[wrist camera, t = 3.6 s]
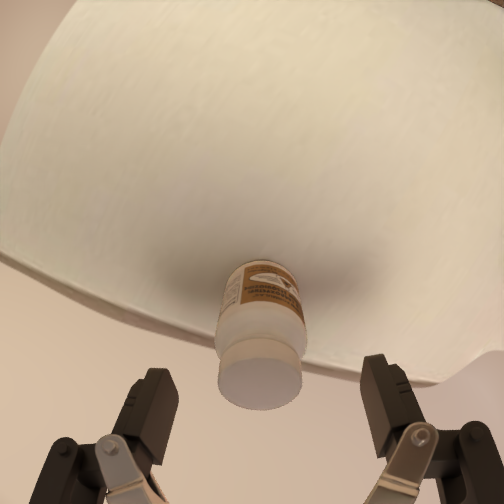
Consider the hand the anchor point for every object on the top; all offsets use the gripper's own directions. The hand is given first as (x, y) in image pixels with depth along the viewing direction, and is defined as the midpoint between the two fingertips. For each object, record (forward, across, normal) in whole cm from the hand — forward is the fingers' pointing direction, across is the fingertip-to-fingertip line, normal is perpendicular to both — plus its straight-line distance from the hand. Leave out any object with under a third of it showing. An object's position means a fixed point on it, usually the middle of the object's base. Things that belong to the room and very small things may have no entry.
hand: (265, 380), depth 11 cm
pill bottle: (+8, 0, 0) cm, 8 cm away
